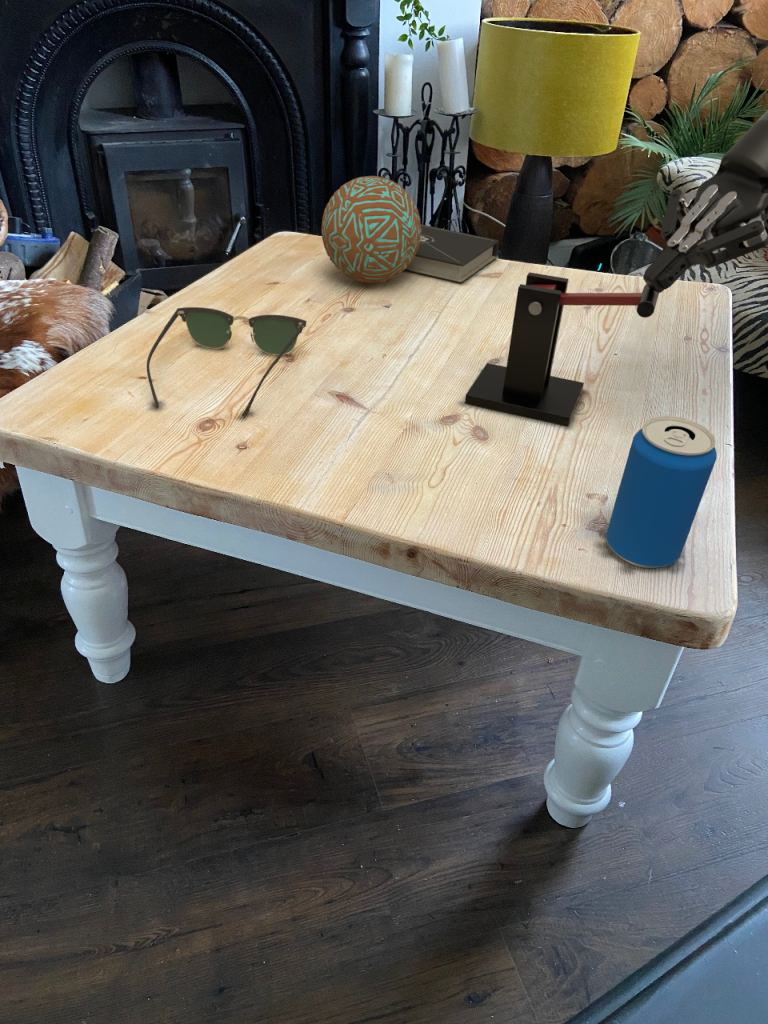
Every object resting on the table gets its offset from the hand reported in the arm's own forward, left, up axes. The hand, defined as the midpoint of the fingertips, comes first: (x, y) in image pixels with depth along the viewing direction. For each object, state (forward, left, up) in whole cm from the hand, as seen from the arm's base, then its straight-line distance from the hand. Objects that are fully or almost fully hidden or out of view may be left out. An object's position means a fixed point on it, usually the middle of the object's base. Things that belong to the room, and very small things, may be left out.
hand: (650, 285), depth 75 cm
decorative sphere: (+42, -27, -15) cm, 52 cm away
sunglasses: (+45, +11, -15) cm, 49 cm away
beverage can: (-5, +23, -15) cm, 28 cm away
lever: (+5, 0, -4) cm, 6 cm away
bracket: (+11, 0, -15) cm, 19 cm away
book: (+38, -41, -15) cm, 58 cm away
